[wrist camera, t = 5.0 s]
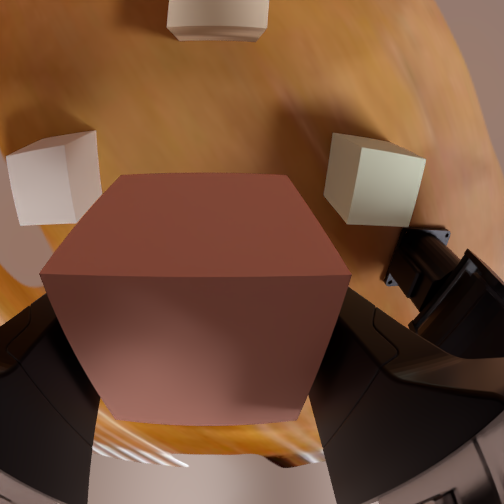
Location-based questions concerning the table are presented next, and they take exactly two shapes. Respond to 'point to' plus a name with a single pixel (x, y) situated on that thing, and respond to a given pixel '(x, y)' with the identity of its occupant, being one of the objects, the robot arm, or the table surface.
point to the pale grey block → (55, 178)
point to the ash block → (217, 19)
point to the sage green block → (372, 181)
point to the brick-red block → (199, 297)
